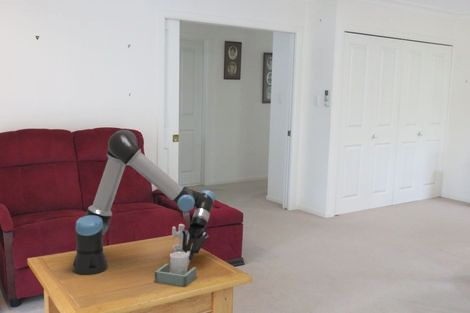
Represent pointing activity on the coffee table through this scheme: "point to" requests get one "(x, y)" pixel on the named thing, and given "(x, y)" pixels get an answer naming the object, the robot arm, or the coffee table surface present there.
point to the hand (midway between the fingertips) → (185, 265)
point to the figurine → (179, 234)
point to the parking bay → (174, 276)
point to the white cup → (179, 263)
